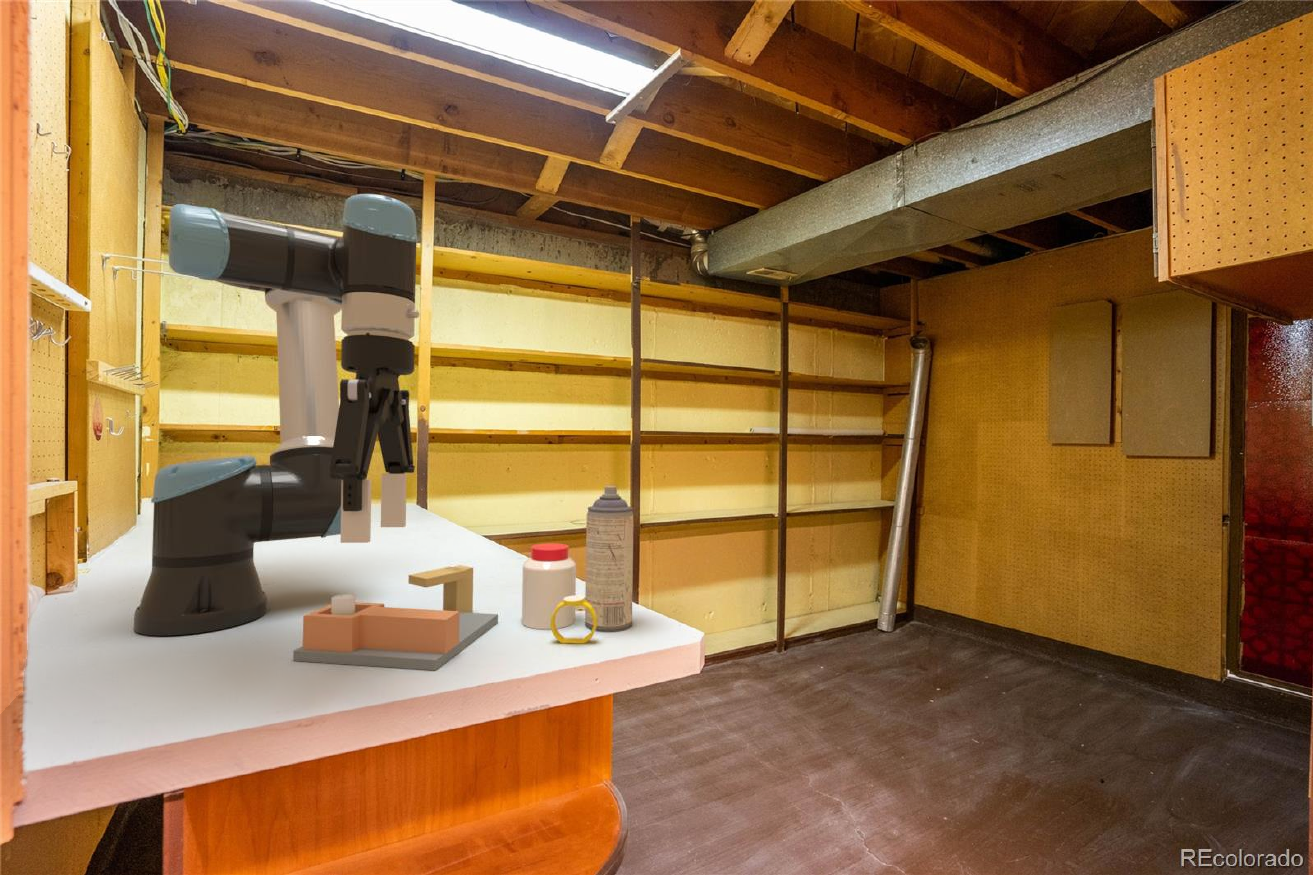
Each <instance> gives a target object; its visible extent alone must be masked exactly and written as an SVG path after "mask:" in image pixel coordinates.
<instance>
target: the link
mask: <svg viewBox="0 0 1313 875" xmlns="http://www.w3.org/2000/svg"><path fill="white" fill-rule="evenodd" d="M302 617H303V618H302V621H303V622H302V646H303V649H311V650H326V651H341V652H353V651H355V650H357V649H359V648H368V649H383V650H398V651H414V652H429V653H444V654H446V653H447V652H448V651H450V650H451V649H452V648H454V647H455V646H456V645H458V644H459V620H460V611H445V610H443V609H441V610H440V609H426V608H425V609H423V608H405V607H390V606H389V607H387V606H385V603H381V602H379V603H378V602H363V601H361V602H360V601H359V602H358V601H355V614H353V615H350V616H349V615H332V614H331V604H328V605H326V606H323V607H322V608H319V609H317V610H314V611H312V612H311V611H310V612H309V613H306V614H304V615H303V616H302Z"/></svg>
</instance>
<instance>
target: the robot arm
mask: <svg viewBox="0 0 1313 875" xmlns="http://www.w3.org/2000/svg"><path fill="white" fill-rule="evenodd" d="M168 223H169V225H168V265H169V267H170V269H171V270H172V271H173V272H174V273H176V274H180V275H183V276H184V275H185V276H189V277H194V278H199V279H200V280H205V281H215V282H217V283H221V284H224V285H228V286H231V287H235V288H239V289H240V288H241V289H246V290H250V291H258V292H263V293H264V299H265V300H264V301H265V304H266V305H267V306H268V307H269V308H270V309H271V310H273V311H274V312H276V341H277V342H276V343H277V367H278V368H277V369H278V373H277V376H278V400H279V402H278V403H279V406H278V407H279V432H280V433H279V434H280V435H279V436H280V444H279V446H278V447H277V448H275V450H273V451H272V452H271V453H270V454H269V464H263V465H262V464H260V465H259V464H258V465H257V460H256V458H255V456H253V455H247V456H246V455H243V456H242V455H241V456H231V457H230V456H229V457H220V458H211V459H210V458H209V459H208V458H207V459H201V460H193V461H186V462H180V463H173V464H168V465H166V466H163V467H162V468H160V469H159V470H157V472H156V474H155V475H154V481H153V482H154V484H153V494H152V495H153V496H152V497H151V501H150V502H151V503H152V504H153V520H152V522H153V523H152V524H153V525H152V544H151V545H152V546H151V547H152V550H151V558H152V559H151V571H150V576H149V578H148V581H147V583H146V586H145V588H144V591H143V595H142V598H141V601H140V604H139V606H137V607H136V610H135V611H134V614H133V615H134V616H133V630H134V632H136V633H137V634H142V635H148V636H179V635H180V636H181V635H191V634H199V633H206V632H212V631H217V630H222V629H227V628H232V627H235V626H239V625H242V624H243V625H244V624H246V623H248V622H249V623H250V622H252V621H255V620H256V619H258V618H261V617H263V616H264V615H265V614H266V612H267V606H268V604H267V603H268V602H267V600H268V598H267V594H266V592H265V591H263V588H262V584H261V581H260V577H259V574H258V571H257V569H256V566H255V561H254V547H255V546H254V545H255V543H262V542H263V543H264V542H272V541H273V542H275V541H284V540H285V541H286V540H295V539H307V538H318V537H319V538H322V539H324V538H327V537H329V536H330V537H331V536H340V539H339V540H340V543H341V544H342V543H343V544H344V543H345V544H346V543H347V544H349V543H351V544H352V543H353V544H355V543H357V544H362V543H370V542H371V537H372V536H371V533H372V532H371V529H372V526H371V522H372V479H367V477H368V474H369V470H370V466H371V461H372V459H373V458H372V457H373V454H374V451H375V450H374V449H375V446H376V440H377V438H378V442H379V447H380V452H381V457H382V462H383V467H384V470H385V472H386V473H381V478H380V479H381V481H380V482H381V484H380V485H381V486H380V488H381V489H380V493H381V494H380V496H381V497H380V498H381V499H380V502H381V503H380V528H406V526H407V521H406V520H407V519H406V518H407V474H412V473H413V474H414V472H415V467H416V466H415V464H414V456H413V444H412V443H413V442H412V432H411V420H410V419H411V418H410V391H409V390H407V389H400V382H399V377H400V376H408V375H411V374H413V373H414V371H415V348H416V347H415V344H414V343H413V341H411V339H412V338H413V337H414V336H415V319H418V318H419V317H420V312H419V310H418V309H416V304H415V303H416V279H417V278H416V277H417V243H418V242H419V238H418V235H417V220H416V214H415V212H414V210H413V209H412V208H411V207H410V206H409V205H408V204H406V203H405V202H403V201H401V200H399V199H396V198H393V197H389V196H387V195H381V194H375V193H359V194H353V195H351V196H350V197H348V198H346V200H345V202H344V209H343V218H342V219H341V224H342V235H341V236H337V235H333V234H329V233H325V232H320V231H318V230H310V229H309V230H308V229H305V228H301V227H296V226H295V227H294V226H290V225H285V224H284V225H283V224H279V223H275V222H270V221H266V220H261V219H258V218H253V217H249V216H244V215H240V214H235V213H230V212H226V211H221V210H217V209H215V208H214V207H213V208H212V207H206V206H196V205H190V204H186V203H185V204H184V203H177V204H174V205H173V206H172V207H171V208H170V209H169V222H168ZM340 312H341V317H340V318H341V323H340V324H341V326H340V329H341V331H342V332H343V333H344V334H346V336H344V337H343V339H341V345H340V346H341V349H340V350H341V353H340V355H341V356H340V365H341V368H342V370H344V371H346V372H349V373H354V374H355V378H354V379H348V378H347V379H344V378H343V379H341V380H340V383H339V379H338V364H337V362H338V361H337V348H336V332H335V330H336V329H335V315H337V314H339V313H340Z"/></svg>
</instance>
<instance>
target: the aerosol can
mask: <svg viewBox="0 0 1313 875" xmlns="http://www.w3.org/2000/svg"><path fill="white" fill-rule="evenodd" d="M633 510H634V509H633V507H631V506H629V505H628V503H627V501H626V500H625V499H623V498H622V496H619V493H618V491H617V486H613V485H612V486H610V485H609V486H605V487H604V492H603V493H602V494H601V495H600V496H599V498H597V499H596V500H595V501H594V503H593V504H592V505H591V506H588V507H587V513H586V532H585V534H586V538H585V541H586V544H585V597H584V601H586V602H588V603H589V604H590V605H592V607H593V609H594V610H595V612H596V615H597V627H596V629H595V632H600V633H615V632H621V631H625V630H628V629H630V628H631V627H632V626H633V580H634V579H633V577H634V575H633V571H634V570H633V568H634V567H633V566H634V562H633V561H634V512H633ZM584 620H585V622H584V626H585V627H586V628H587V629H589V630H591V631H592V628H593V617H592V615H591V613H590V612H589V610H588V609H587V608H585V607H584Z"/></svg>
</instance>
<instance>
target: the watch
mask: <svg viewBox="0 0 1313 875" xmlns="http://www.w3.org/2000/svg"><path fill="white" fill-rule="evenodd" d="M565 605H566V606H575V607H578V606H582V607H584V609H585V608H587V609H588V610H589V612H590V613H591V615H592V617H593V628H592V630H591V631H590V633H588V634H587V635H586V636H585V637H583V638H582V637H581V638H576V637H575V638H573V637H572V638H571V637H564V636H563V635H562V634H561V633H560V632H559V631H558V629H557V628H556V625H555V616H556V613H557V612H558V610H559V609H560V608H562V607H563V606H565ZM596 627H597V615H596V612H595V610H594V609H593V607H592V605H590V604H589V603H588V602H586V601H585V597H584V596H583V595H576V596H568V597H565V598H564V599H563V602H562V603H560V604H559V605H558V606H557V608H556V609H555V611H554V612H553V614H552V617H551V629H550V630H551V633H552V635H553V636H554V638H555V639H556V640H558V642H560V643H561V644H563V645H564V644H575V645H577V644H581V645H585V644H586V643H587V642H589V640H592V637H593V636H594V634H595V632H596V631H595V629H596Z"/></svg>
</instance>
